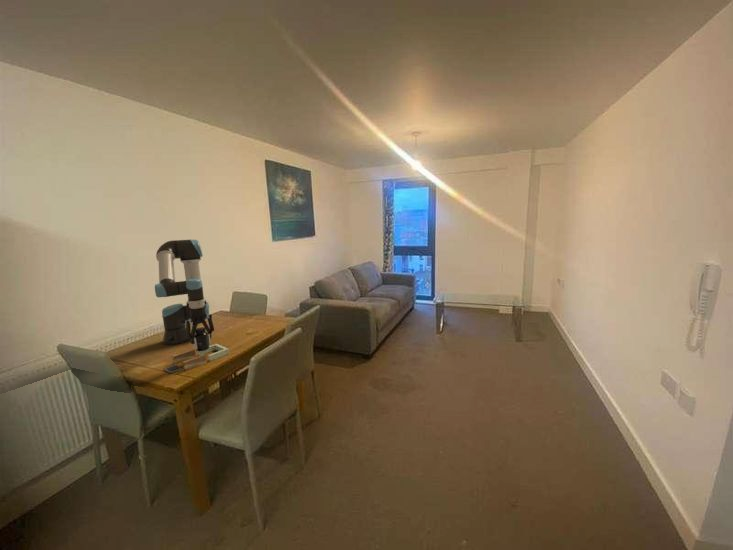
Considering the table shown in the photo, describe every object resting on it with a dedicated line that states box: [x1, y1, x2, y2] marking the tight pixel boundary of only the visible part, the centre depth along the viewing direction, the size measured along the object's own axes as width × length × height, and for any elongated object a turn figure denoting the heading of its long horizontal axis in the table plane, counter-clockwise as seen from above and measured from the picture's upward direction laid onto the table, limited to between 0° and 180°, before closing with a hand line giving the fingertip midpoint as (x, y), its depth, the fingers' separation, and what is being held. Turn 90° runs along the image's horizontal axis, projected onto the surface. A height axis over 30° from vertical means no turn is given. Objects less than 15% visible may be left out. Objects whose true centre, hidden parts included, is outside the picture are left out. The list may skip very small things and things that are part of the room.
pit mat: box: [163, 364, 184, 375], centre depth 160 cm, size 8×6×1 cm
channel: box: [172, 348, 208, 371], centre depth 166 cm, size 14×11×4 cm
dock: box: [197, 343, 230, 362], centre depth 176 cm, size 14×11×3 cm
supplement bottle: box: [194, 326, 210, 352], centre depth 170 cm, size 7×7×12 cm
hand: (202, 346), depth 171 cm, fingers closed on supplement bottle, 7 cm apart
